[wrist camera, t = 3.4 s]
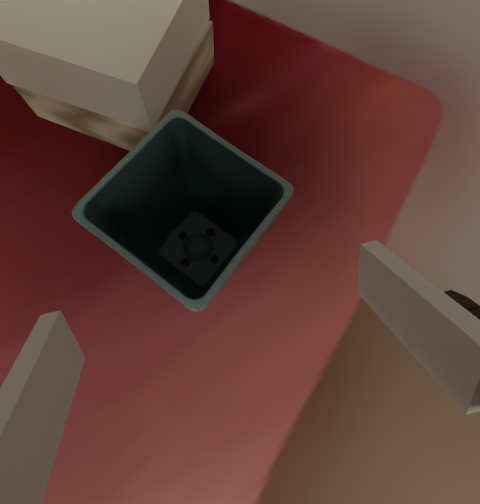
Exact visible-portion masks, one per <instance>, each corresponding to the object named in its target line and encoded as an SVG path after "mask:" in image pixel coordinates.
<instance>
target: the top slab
mask: <svg viewBox="0 0 480 504" xmlns="http://www.w3.org/2000/svg"><path fill="white" fill-rule="evenodd" d="M208 20H209V0H0V76H1V77H2V78H3V79H4V80H5V81H6V83H8V84H11V85H14V86H17V87H20V88H23V89H26V90H29V91H32V92H35V93H38V94H41V95H44V96H47V97H50V98H53V99H56V100H59V101H62V102H65V103H68V104H71V105H74V106H77V107H81V108H84V109H87V110H90V111H93V112H96V113H99V114H102V115H105V116H108V117H111V118H114V119H117V120H120V121H123V122H126V123H129V124H132V125H135V126H138V127H141V128H144V129H147V130H150V131H151V130H152V129H153V128H154V127H155V126H156V124H157V122H158V120H159V118H160V116H161V114H162V112H163V110H164V108H165V106H166V104H167V102H168V100H169V98H170V96H171V94H172V92H173V90H174V88H175V86H176V84H177V82H178V80H179V78H180V76H181V74H182V72H183V70H184V68H185V66H186V64H187V62H188V60H189V58H190V56H191V54H192V52H193V50H194V48H195V46H196V44H197V42H198V40H199V38H200V36H201V34H202V32H203V30H204V28H205V26H206V24H207V22H208Z"/></svg>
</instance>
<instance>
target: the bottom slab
mask: <svg viewBox="0 0 480 504" xmlns="http://www.w3.org/2000/svg"><path fill="white" fill-rule="evenodd" d="M213 64H214V40H213V22H212V21H209V20H208V22H207V24H206V26H205V28H204V30H203V32H202V34H201V36H200V38H199V40H198V42H197V44H196V46H195V48H194V50H193V52H192V54H191V56H190V58H189V60H188V62H187V64H186V66H185V68H184V70H183V72H182V74H181V76H180V78H179V80H178V82H177V84H176V86H175V88H174V90H173V92H172V94H171V96H170V98H169V100H168V102H167V104H166V106H165V108H164V110H163V112H162V114H161V116H160V118H159V120H158V122H157V124H158V123H159V122H160V121H161V120H162V119H163V118H164V116H166V115H167V114H168V113H169V112H170V111H172V110H175V109H177V110H180V111H183V112H185V113H188V111H189V109H190V107H191V105H192V103H193V102H194V100H195V98H196V96H197V94H198V92H199V90H200V88H201V86H202V85H203V83H204V81H205V79H206V77H207V75H208V73H209V71H210V70H211V68H212V66H213ZM13 87H14V88H15V89H16V90H17V92H18V93H19V94H20V95H21V96H22V98H23V99H24V100H25V101H26V102H27V104H28V105H29V106H30V107H31V108H32V110H33V111H34V112H35V113H36V114H37V116H39V117H41V118H44V119H47V120H49V121H52V122H55V123H57V124H60V125H63V126H65V127H68V128H71V129H73V130H76V131H78V132H81V133H84V134H86V135H89V136H92V137H94V138H97V139H100V140H102V141H105V142H108V143H110V144H113V145H116V146H118V147H121V148H124V149H126V150H129V151H131V150H132V149H133V148H134V147H135V146H136V145H137V144H138V143H139V142H140V141H141V140H142V139H143V138H144V137H145V136H146V135H147V134H148V133H149V132H150V130H147V129H144V128H141V127H138V126H135V125H132V124H129V123H126V122H123V121H120V120H117V119H114V118H111V117H108V116H105V115H102V114H99V113H96V112H93V111H90V110H87V109H84V108H81V107H77V106H74V105H71V104H68V103H65V102H62V101H59V100H56V99H53V98H50V97H47V96H44V95H41V94H38V93H35V92H32V91H29V90H26V89H23V88H20V87H17V86H14V85H13ZM157 124H156V125H157Z"/></svg>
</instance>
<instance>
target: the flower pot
mask: <svg viewBox="0 0 480 504" xmlns="http://www.w3.org/2000/svg"><path fill="white" fill-rule="evenodd" d="M293 191H294V188H293V186H292V185H291V184H290V183H289V182H288V181H286V180H285V179H283V178H282V177H281V176H279V175H277V174H275V173H274V172H273V171H271V170H270V169H268V168H266V167H265V166H263V165H262V164H261V163H259V162H257V161H256V160H254V159H253V158H251V157H250V156H248V155H246V154H245V153H244V152H242V151H241V150H239V149H238V148H236V147H235V146H233V145H232V144H230V143H228V142H227V141H226V140H224V139H223V138H221V137H220V136H218V135H217V134H215V133H214V132H213V131H211V130H210V129H208V128H207V127H205V126H204V125H202V124H201V123H200V122H198V121H197V120H195V119H194V118H193V117H191V116H190V115H189V114H187V113H185V112H183V111H180V110H177V109H175V110H172V111H170V112H169V113H168V114H167V115H166V116H164V118H163V119H162V120H161V121H160V122H159V123H158V124H157V125H156V126H155V127H154V128H153V129H152V130H151V131H150V132H149V133H148V134H147V135H146V136H145V137H144V138H143V139H142V140H141V141H140V142H139V143H138V144H137V145H136V146H135V147H134V148H133V149H132V150H131V151H130V152H129V153H128V154H127V155H126V156H125V157H124V158H123V159H122V160H121V161H119V163H118V164H116V166H115V167H114V168H113V169H112V170H111V171H109V172H108V173H107V174H106V175H105V176H104V177H103V178H102V179H101V180H100V181H99V182H98V183H97V184H96V185H95V186H94V187H93V188H92V189H91V190H90V191H89V192H88V193H87V194H86V195H85V196H84V197H83V198H82V199H80V201H79V202H78V203H77V204H76V205H75V207H74V208H73V210H72V213H71V214H72V216H73V218H74V219H75V221H77V222H78V223H79V224H80V225H82V226H83V227H84V228H86V229H87V230H88V231H90V232H91V233H92V234H94V235H95V236H96V237H98V238H99V239H101V240H102V241H103V242H104V243H106V244H107V245H108V246H110V247H111V248H112V249H114V250H115V251H116V252H118V253H119V254H120V255H121V256H123V257H124V258H125V259H127V260H128V261H129V262H130V263H132V264H133V265H134V266H135V267H137V268H138V269H139V270H141V271H142V272H143V273H144V274H146V275H147V276H148V277H149V278H151V279H152V280H153V281H154V282H156V283H157V284H158V285H159V286H161V287H162V288H163V289H164V290H166V291H167V292H168V293H170V294H171V295H172V296H173V297H174V298H176V299H177V300H178V301H179V302H180V303H182V304H183V305H184V306H185V307H187V308H188V309H190V310H191V311H194V312H199V311H202V310H204V309H206V308H207V307H208V306H209V305H210V303H211V302H212V301H213V299H214V298H215V297H216V295H217V294H218V293H219V291H220V290H221V289H222V287H223V286H224V285H225V283H226V282H227V281H228V279H229V278H230V277H231V275H232V274H233V273H234V271H235V270H236V269H237V268H238V266H239V265H240V264H241V262H242V261H243V260H244V259H245V257H246V256H247V255H248V253H249V252H250V251H251V250H252V248H253V247H254V246H255V245H256V243H257V242H258V241H259V240H260V238H261V237H262V236H263V235H264V233H265V232H266V231H267V230H268V229H269V227H270V226H271V225H272V224H273V222H274V221H275V219H276V218H277V216H278V215H279V213H280V212H281V211H282V209H283V208H284V206H285V205H286V204H287V202H288V201H289V199H290V198H291V197H292V195H293ZM209 231H213V232H214V235H213V236H209V235H208V232H209ZM181 234H185V235H186V238H185V239H184V240H182V239H180V235H181ZM213 257H216V258H217V259H218V261H217V262H216V263H212V262H211V258H213ZM183 261H188V262H189V265H188V266H187V267H184V266H183V265H182V262H183Z"/></svg>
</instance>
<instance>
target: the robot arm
mask: <svg viewBox="0 0 480 504" xmlns="http://www.w3.org/2000/svg"><path fill="white" fill-rule="evenodd" d="M357 293H358V294H359V295H360V296H361V297H362V298H363V299H364V301H366V303H367V304H368V305H369V306H370V307H371V308H372V310H373V311H374V312H375V313H376V314H377V315H378V316H379V317H380V319H381V320H382V321H383V322H384V323H385V324H386V325H387V326H388V327H389V329H391V331H392V332H393V333H394V334H395V335H396V336H397V338H398V339H399V340H400V341H401V342H402V343H403V344H404V345H405V347H407V349H408V350H409V351H410V352H411V353H412V354H413V356H414V357H415V358H416V359H417V360H418V361H419V362H420V363H421V364H422V366H423V367H424V368H425V369H426V370H427V371H428V372H429V374H430V375H431V376H432V377H433V378H434V379H435V380H436V381H437V382H438V384H439V385H440V386H441V387H442V388H443V389H444V390H445V391H446V393H447V394H448V395H449V396H450V397H451V398H452V399H453V400H454V402H455V403H456V404H457V405H458V406H459V407H460V408H461V409H462V410H463V412H464V413H465V414H466V415H467V414H471V413H474V412H477V411H480V306H479V305H478V304H476V303H475V302H474V301H472V300H471V299H469V298H468V297H466V296H464V295H461V294H459V293H457V292H454V291H452V290H450V291H446V292H443V291H441V290H440V289H439V288H438V287H436V286H435V285H434V284H432V283H431V282H430V281H428V280H427V279H426V278H425V277H423V276H422V275H421V274H419V273H418V272H417V271H415V270H414V269H413V268H412V267H410V266H409V265H408V264H406V263H405V262H404V261H402V260H401V259H400V258H398V257H397V256H396V255H395V254H393V253H392V252H391V251H389V250H388V249H387V248H386V247H384V246H383V245H382V244H380V243H379V242H378V241H376V240H375V241H371V242H366V243H362V244H360V258H359V273H358V289H357ZM84 361H85V356H84V354H83V352H82V350H81V348H80V346H79V344H78V343H77V341H76V339H75V337H74V335H73V333H72V331H71V330H70V328H69V326H68V324H67V322H66V320H65V318H64V317H63V315H62V313H61V311H56V312H51V313H47V314H42V315H40V317H39V319H38V321H37V322H36V324H35V326H34V328H33V330H32V332H31V333H30V335H29V337H28V339H27V341H26V342H25V344H24V346H23V348H22V350H21V352H20V353H19V355H18V357H17V359H16V361H15V362H14V364H13V366H12V368H11V370H10V372H9V373H8V375H7V377H6V379H5V381H4V383H3V384H2V386H1V388H0V504H41V503H42V500H43V496H44V493H45V490H46V486H47V483H48V480H49V476H50V473H51V470H52V466H53V463H54V460H55V457H56V453H57V450H58V447H59V443H60V440H61V437H62V433H63V430H64V427H65V424H66V420H67V417H68V414H69V410H70V407H71V404H72V400H73V397H74V394H75V390H76V387H77V384H78V381H79V377H80V374H81V371H82V367H83V364H84Z"/></svg>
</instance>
